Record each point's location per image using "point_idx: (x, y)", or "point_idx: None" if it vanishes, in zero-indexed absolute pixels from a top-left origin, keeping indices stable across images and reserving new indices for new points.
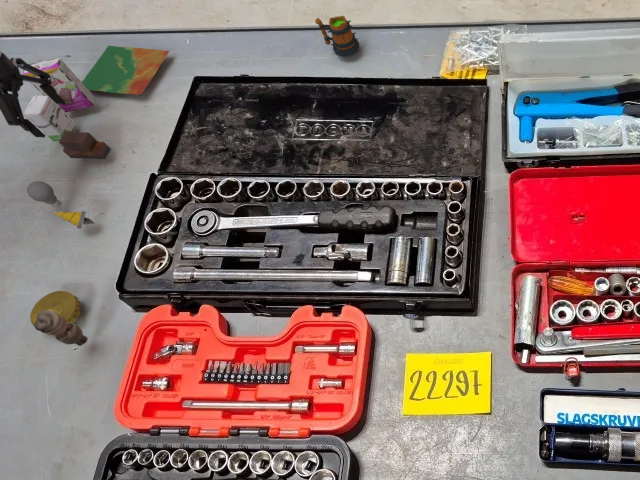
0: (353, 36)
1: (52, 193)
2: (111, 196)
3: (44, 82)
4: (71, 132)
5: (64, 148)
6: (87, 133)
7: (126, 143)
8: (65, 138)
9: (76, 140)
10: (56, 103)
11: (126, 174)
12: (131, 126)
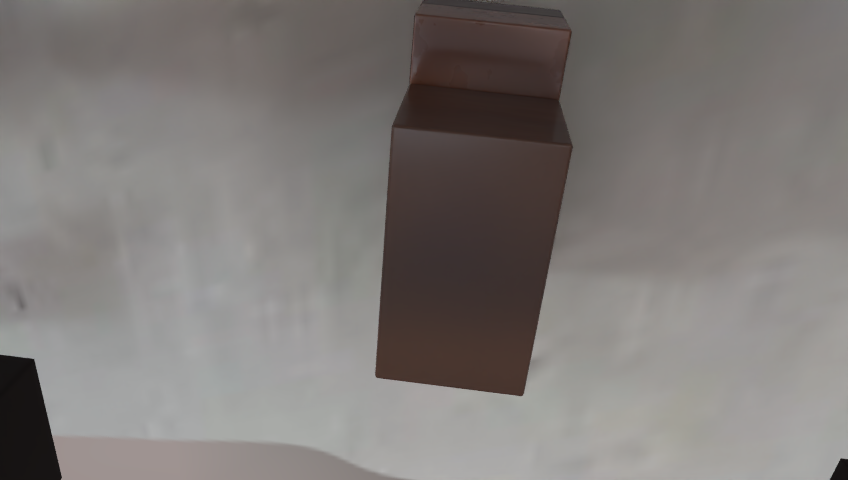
0: None
1: None
2: (153, 318)
3: None
4: (539, 232)
5: (447, 26)
6: (506, 390)
7: (623, 306)
8: (448, 189)
9: (411, 313)
10: (840, 473)
11: (334, 363)
12: (804, 303)
